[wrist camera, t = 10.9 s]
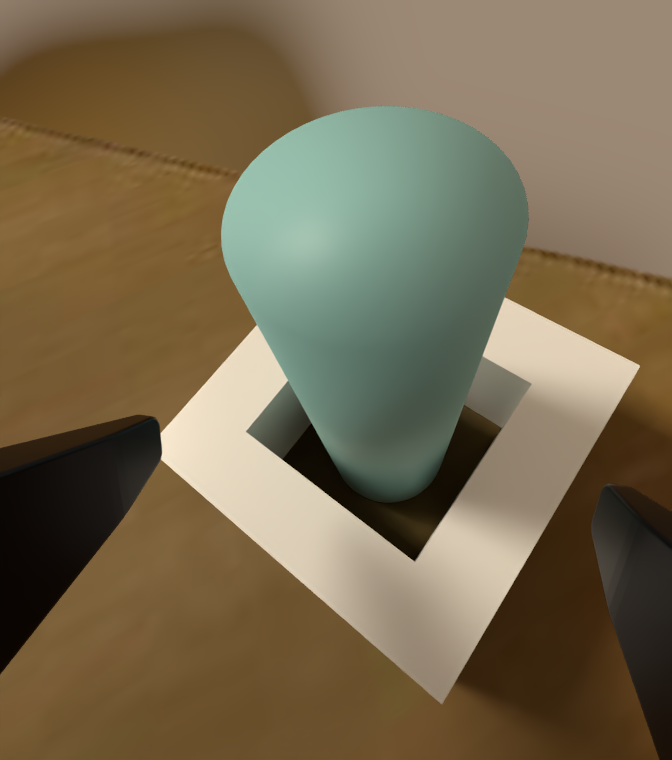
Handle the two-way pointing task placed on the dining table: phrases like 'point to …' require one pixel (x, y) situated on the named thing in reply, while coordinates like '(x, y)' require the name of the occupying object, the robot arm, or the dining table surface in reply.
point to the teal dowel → (378, 279)
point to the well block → (460, 523)
